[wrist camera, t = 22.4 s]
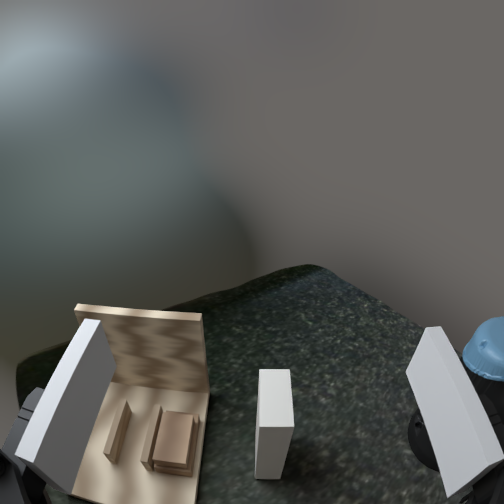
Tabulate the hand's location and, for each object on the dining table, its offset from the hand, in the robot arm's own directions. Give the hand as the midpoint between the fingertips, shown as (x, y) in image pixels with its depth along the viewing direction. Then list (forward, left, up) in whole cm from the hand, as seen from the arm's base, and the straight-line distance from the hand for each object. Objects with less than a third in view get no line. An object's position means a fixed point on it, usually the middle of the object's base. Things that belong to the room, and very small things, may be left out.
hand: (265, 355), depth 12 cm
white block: (-8, -10, -36) cm, 38 cm away
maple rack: (+9, -19, -36) cm, 42 cm away
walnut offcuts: (+3, -16, -34) cm, 38 cm away
